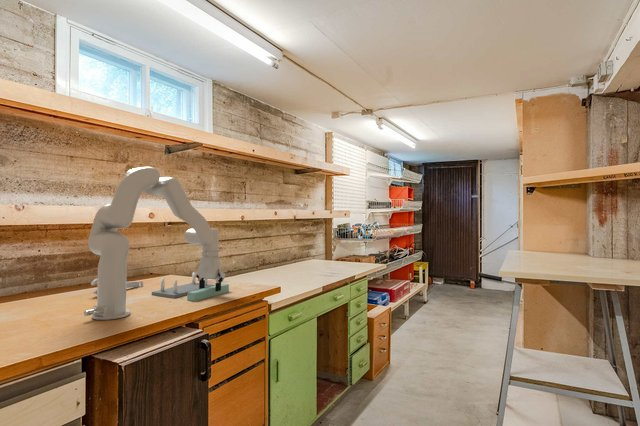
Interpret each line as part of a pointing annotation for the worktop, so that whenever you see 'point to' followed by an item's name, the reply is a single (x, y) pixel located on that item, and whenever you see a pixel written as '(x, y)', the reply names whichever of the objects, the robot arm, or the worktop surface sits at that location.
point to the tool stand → (179, 288)
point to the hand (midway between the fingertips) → (209, 289)
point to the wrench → (128, 284)
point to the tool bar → (206, 292)
